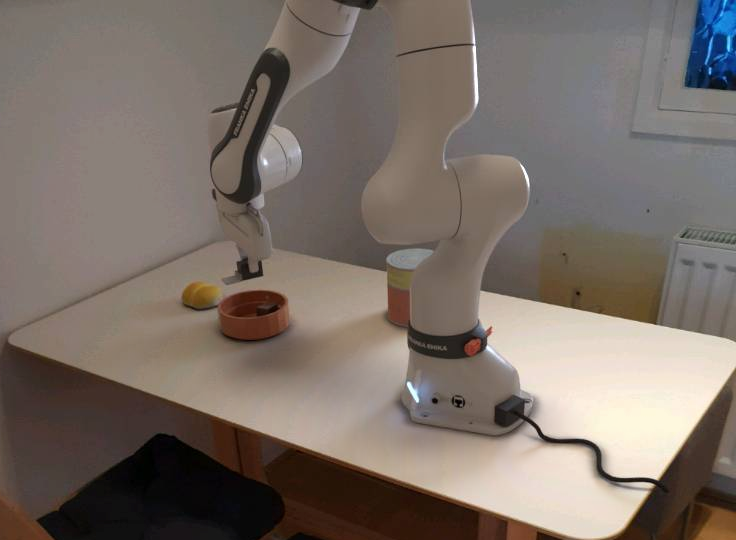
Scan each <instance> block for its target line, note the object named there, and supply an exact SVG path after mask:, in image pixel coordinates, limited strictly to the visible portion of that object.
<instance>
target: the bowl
mask: <svg viewBox="0 0 736 540" xmlns="http://www.w3.org/2000/svg"><path fill="white" fill-rule="evenodd" d="M267 302H271V303H278V310H277V311H276V312H273V313H271V314H268V315H264V316H259V317H256V316H257V311H256V307H258V306H260V305H262V304H264V303H267ZM289 305H290V304H289V298H288V297H287V296H286V294H283V293H281V292H279V291H275V290H270V289H251V290H250V289H248V290H242V291H239V292H236V293H233V294H230V295H228V296H226V297H223V299H222V301H221V302H220V303H219V304H218V305H217V314H218V320H219V326H220V329H221V332H222V333H223V334H224V335H226V336H227V337H231V338H234V339H238V340H245V341H253V340H255V341H256V340H262V339H267V338H271V337H273V336H275V335H279V334H280V333H282V332H284V331H285V330H286V329H287V328H288V327H289V325H290V324H291V314H290V306H289Z"/></svg>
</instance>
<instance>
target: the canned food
mask: <svg viewBox="0 0 736 540" xmlns="http://www.w3.org/2000/svg"><path fill="white" fill-rule="evenodd" d="M434 251H435V250H434V249H431V248H430V249H429V248H423V247H413V248H412V247H411V248H404V249H403V248H402V249H399V250H396V251H394V252H391V253H390V254H388V255H387V256H386V259H385V261H386V282H387V283H386V284H387V285H386V286H387V319H388V320H389V321H390V322H391V323H393V324H395V325H397V326H401V327H405V328H407V325H408V320H409V319H410V279H411V276H412V274H413V272H414V270H415V268H416V267H417V266H418V265H419V264H420V263H421V262H422V261H423V260H425V259H426V258H427V257H429V256H430V255H431V254H432V253H433V252H434Z"/></svg>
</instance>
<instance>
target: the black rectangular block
mask: <svg viewBox="0 0 736 540" xmlns="http://www.w3.org/2000/svg"><path fill="white" fill-rule="evenodd" d="M262 261H263V260H261V261H258V268H259V270H258V271H257V272H253V273H251V272H250V271H249V270H248V266H247V262H248V259H246V260H237V261H235V262H236V270H234V275H230V276H226V277H222V278H221V281H222V282H223V284H224V285H226V286H229V285H234V284H238V283H241V282H245V281H248V280H253V279H257V278H261V277H264V269H263V262H262Z"/></svg>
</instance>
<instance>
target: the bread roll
mask: <svg viewBox="0 0 736 540" xmlns="http://www.w3.org/2000/svg"><path fill="white" fill-rule="evenodd" d="M223 299H224V294H223V291H222V290H221V288H220V287H219V286H217V285H211V284H209V283H206V282H204V281H195V282H192V283H189V284H188V285H187V286H186V287H185V288H184V289H183V291H182V293H181V300H182V302H183V304H185V305H187V306H188V307H192V308H194V309H197V310H204V309H212V308H214V307H216V306H218V304H219V303H220V302H221V301H222V300H223Z"/></svg>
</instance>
